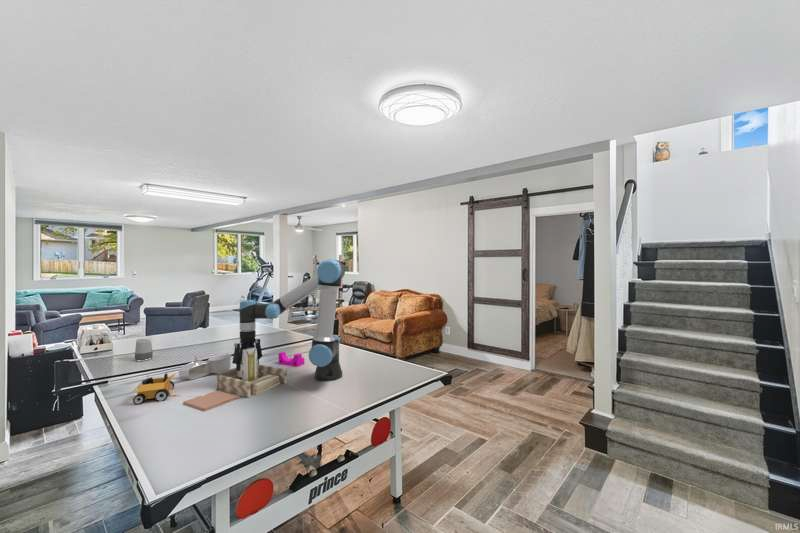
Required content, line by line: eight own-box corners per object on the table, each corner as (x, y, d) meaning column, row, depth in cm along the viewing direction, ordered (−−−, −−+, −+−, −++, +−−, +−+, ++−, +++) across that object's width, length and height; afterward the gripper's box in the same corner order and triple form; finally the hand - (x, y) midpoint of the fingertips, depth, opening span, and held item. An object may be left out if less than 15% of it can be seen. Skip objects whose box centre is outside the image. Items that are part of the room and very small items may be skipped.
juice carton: (252, 380, 182) (252, 345, 182) (258, 384, 176) (258, 347, 176) (237, 384, 177) (237, 347, 177) (243, 388, 171) (243, 350, 171)
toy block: (304, 365, 213) (304, 353, 213) (297, 367, 207) (297, 355, 208) (285, 362, 219) (285, 350, 219) (278, 364, 214) (278, 352, 214)
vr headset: (205, 373, 195) (202, 353, 196) (214, 373, 191) (211, 353, 191) (179, 381, 183) (176, 360, 183) (188, 381, 178) (185, 359, 179)
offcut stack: (280, 385, 177) (280, 375, 177) (256, 395, 162) (256, 385, 163) (269, 383, 180) (269, 374, 180) (245, 393, 165) (245, 383, 165)
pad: (238, 398, 159) (238, 396, 159) (205, 411, 145) (204, 408, 145) (217, 392, 166) (217, 390, 166) (183, 403, 152) (183, 401, 152)
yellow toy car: (141, 394, 165) (140, 372, 165) (177, 389, 171) (177, 368, 171) (131, 405, 151) (130, 381, 151) (171, 400, 157) (171, 377, 157)
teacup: (241, 368, 201) (238, 351, 201) (226, 377, 186) (223, 359, 186) (222, 370, 202) (219, 353, 202) (205, 379, 187) (202, 361, 187)
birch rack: (287, 382, 180) (286, 367, 180) (248, 397, 159) (248, 380, 159) (257, 376, 191) (256, 361, 191) (217, 389, 170) (217, 373, 170)
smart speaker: (145, 362, 219) (145, 340, 220) (131, 362, 220) (131, 340, 220) (156, 358, 229) (156, 337, 229) (142, 358, 229) (142, 337, 229)
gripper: (260, 326, 188) (260, 367, 188) (223, 333, 169) (224, 379, 169) (269, 327, 184) (269, 369, 184) (233, 334, 166) (234, 381, 166)
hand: (248, 374), depth 177 cm, fingers closed on juice carton, 9 cm apart
